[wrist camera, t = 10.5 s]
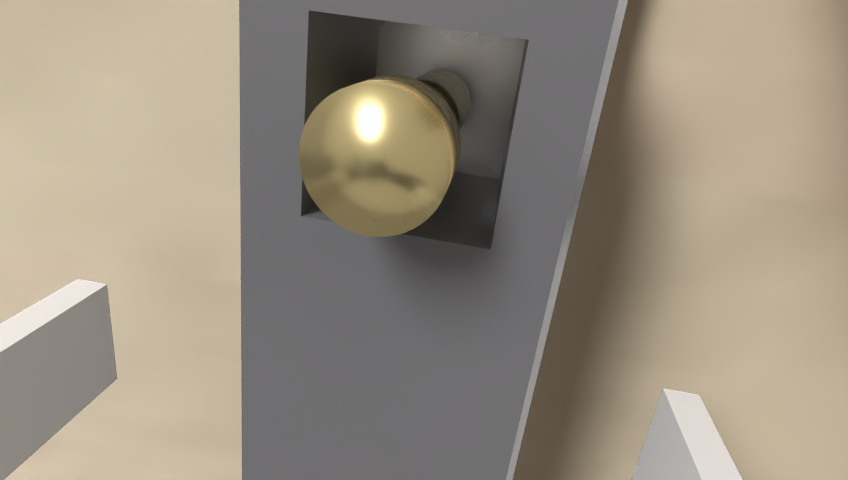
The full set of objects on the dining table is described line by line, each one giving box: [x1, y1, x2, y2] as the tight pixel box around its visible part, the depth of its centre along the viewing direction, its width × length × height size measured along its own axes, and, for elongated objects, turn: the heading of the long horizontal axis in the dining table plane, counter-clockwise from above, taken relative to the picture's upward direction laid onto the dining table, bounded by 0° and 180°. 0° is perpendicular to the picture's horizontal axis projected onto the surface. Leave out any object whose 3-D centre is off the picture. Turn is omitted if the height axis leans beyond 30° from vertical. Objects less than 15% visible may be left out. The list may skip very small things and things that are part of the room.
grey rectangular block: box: [239, 0, 619, 480], centre depth 14 cm, size 20×6×6 cm, turn 173°
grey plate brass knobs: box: [299, 0, 628, 480], centre depth 14 cm, size 24×8×8 cm, turn 173°
